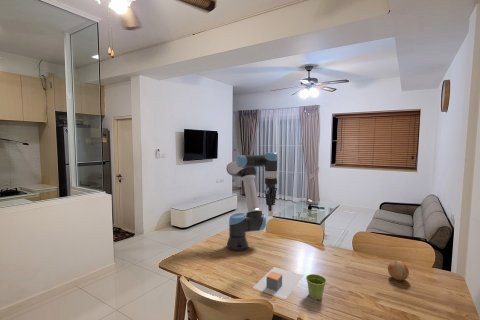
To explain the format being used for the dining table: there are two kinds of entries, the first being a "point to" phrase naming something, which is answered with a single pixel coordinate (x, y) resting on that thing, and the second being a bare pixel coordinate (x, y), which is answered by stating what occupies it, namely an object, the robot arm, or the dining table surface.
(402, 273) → the onion
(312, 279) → the plant pot
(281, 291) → the grip mat
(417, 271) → the dining table surface
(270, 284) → the flip cube
